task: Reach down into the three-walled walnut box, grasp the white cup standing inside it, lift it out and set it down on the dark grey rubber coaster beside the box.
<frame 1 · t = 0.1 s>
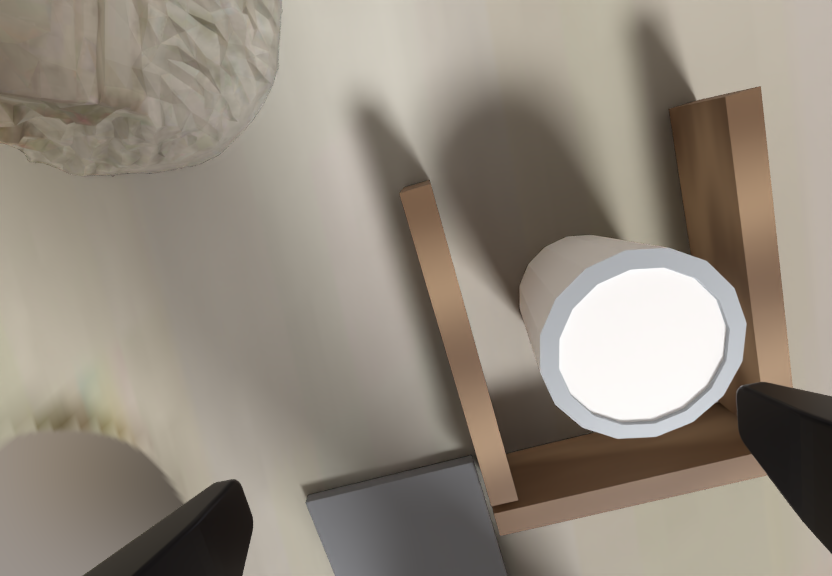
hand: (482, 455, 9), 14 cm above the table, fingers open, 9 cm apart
white cup: (577, 292, 23), resting in walnut box
coaster: (412, 544, 26), on the table
walnut box: (580, 303, 23), on the table
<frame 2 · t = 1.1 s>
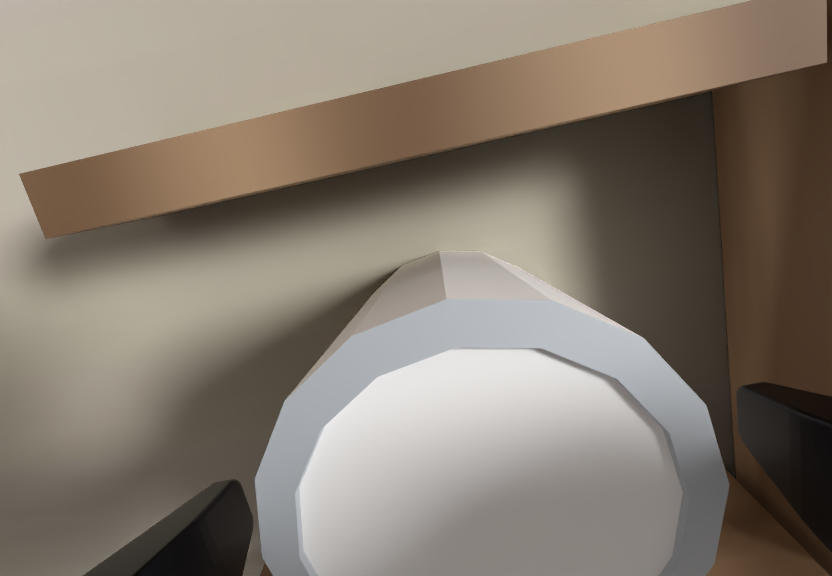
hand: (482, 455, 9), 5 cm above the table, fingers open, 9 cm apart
white cup: (456, 344, 14), resting in walnut box
walnut box: (474, 344, 14), on the table
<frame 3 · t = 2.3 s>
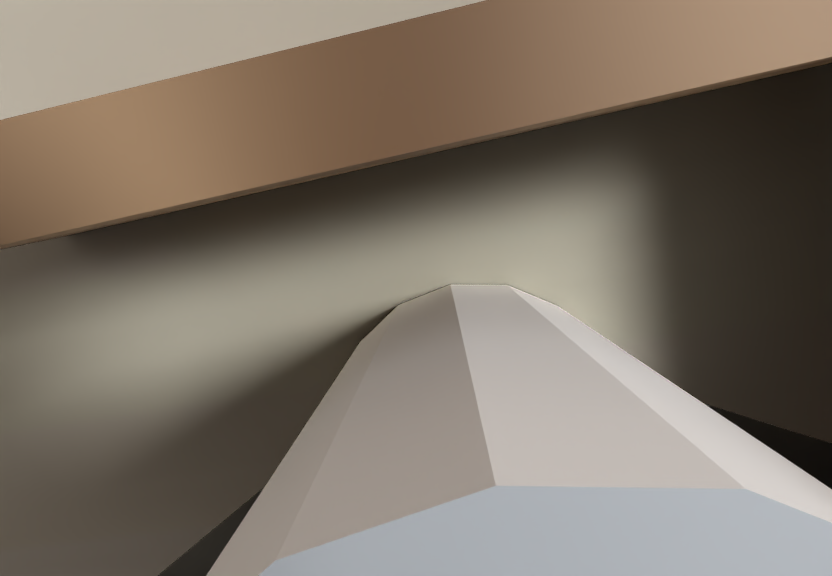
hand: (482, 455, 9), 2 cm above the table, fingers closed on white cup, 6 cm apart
white cup: (473, 408, 10), resting in walnut box, touching gripper
walnut box: (497, 408, 10), on the table
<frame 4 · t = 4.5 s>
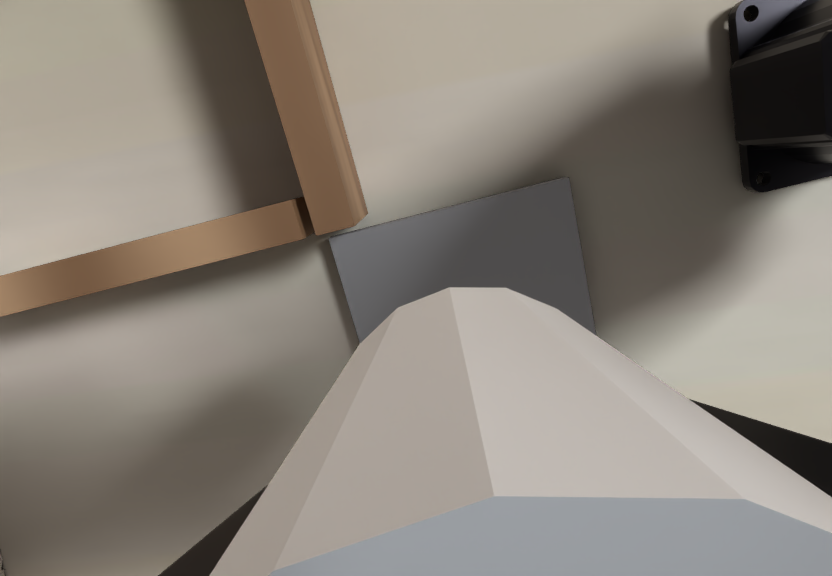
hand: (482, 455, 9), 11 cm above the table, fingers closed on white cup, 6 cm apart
white cup: (472, 410, 10), point 9 cm above the table, touching gripper
coaster: (472, 317, 19), on the table
walnut box: (100, 91, 17), on the table
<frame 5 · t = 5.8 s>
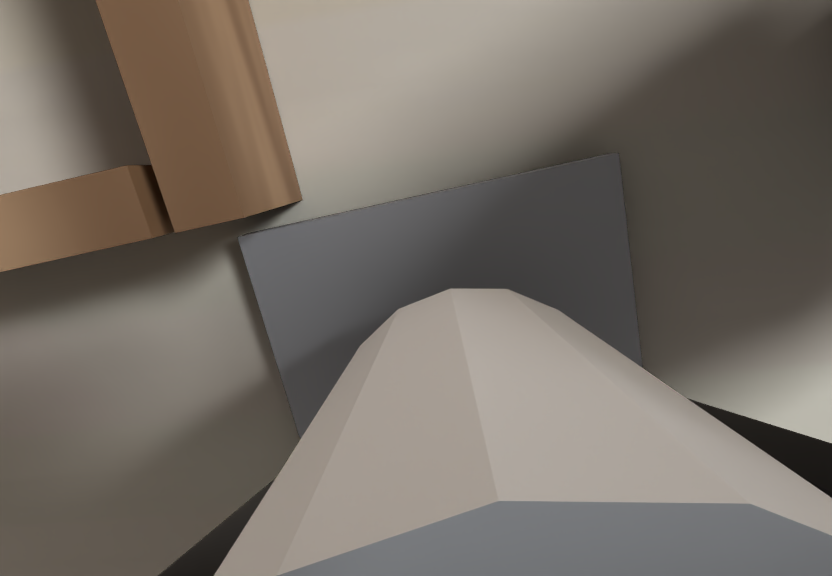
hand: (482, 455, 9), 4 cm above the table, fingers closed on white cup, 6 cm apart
white cup: (473, 411, 10), point 3 cm above the table, touching gripper
coaster: (458, 363, 13), on the table
when the fingers open (3 cm above the table, at t = 7.0 s): white cup stays where it is, resting on coaster.
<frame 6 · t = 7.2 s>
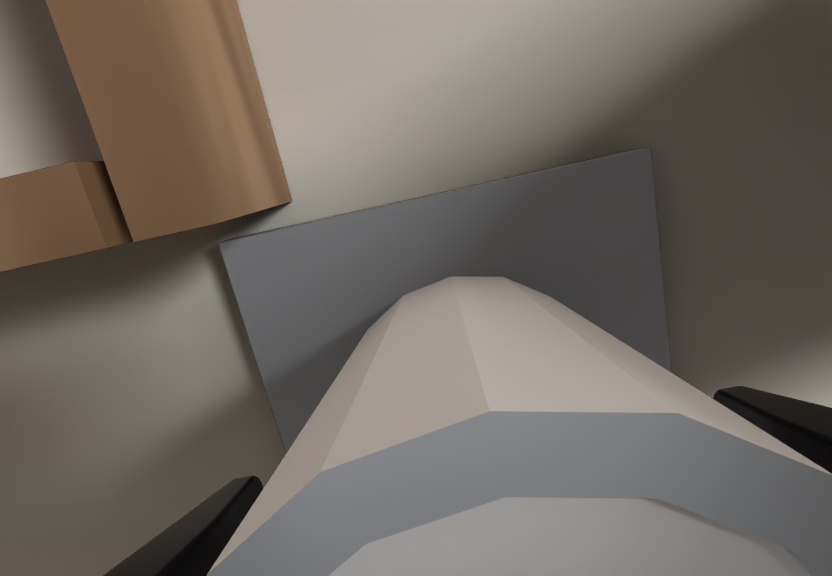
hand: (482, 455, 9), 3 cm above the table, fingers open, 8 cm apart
white cup: (471, 391, 11), resting on coaster
coaster: (466, 382, 12), on the table
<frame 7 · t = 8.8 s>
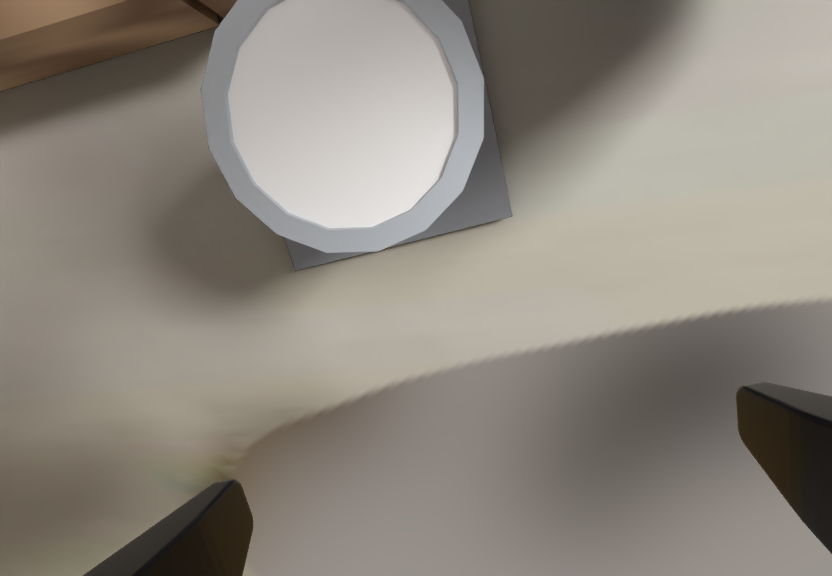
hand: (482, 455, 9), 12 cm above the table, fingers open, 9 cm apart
white cup: (374, 130, 18), resting on coaster
coaster: (373, 130, 19), on the table
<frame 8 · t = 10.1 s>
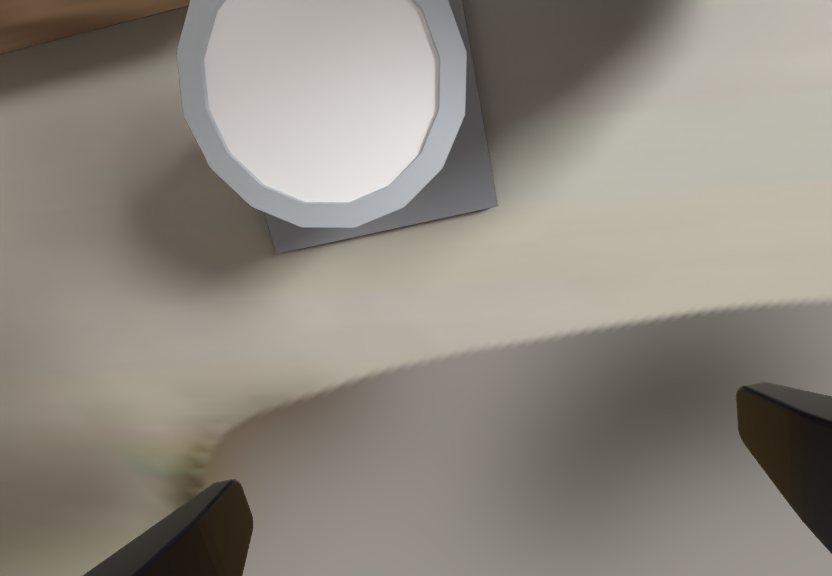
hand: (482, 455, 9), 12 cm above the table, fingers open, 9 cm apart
white cup: (360, 113, 18), resting on coaster
coaster: (359, 114, 19), on the table
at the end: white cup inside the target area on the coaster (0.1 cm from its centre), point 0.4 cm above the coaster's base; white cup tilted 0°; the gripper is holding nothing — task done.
